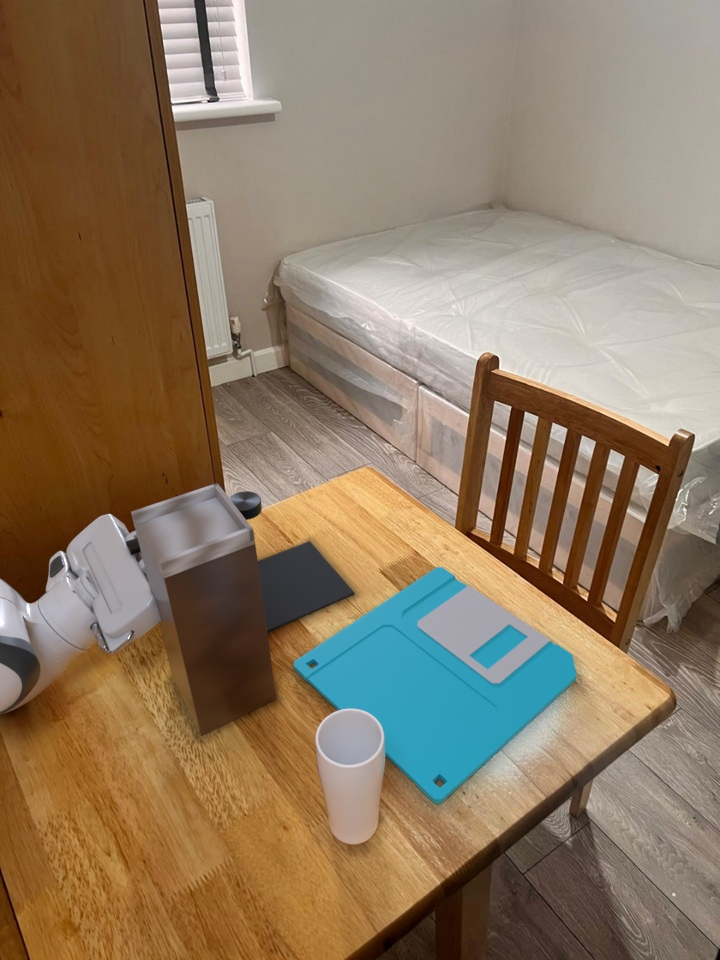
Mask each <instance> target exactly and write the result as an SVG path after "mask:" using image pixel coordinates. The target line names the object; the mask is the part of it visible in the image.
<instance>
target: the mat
mask: <svg viewBox="0 0 720 960" xmlns="http://www.w3.org/2000/svg"><path fill="white" fill-rule="evenodd" d="M258 567H259V575H260V582H261V590H262V597H263V605H264V612H265V619H266V627H267V633H269V632H272V631H274V630H277V629H279V628H282V627H284V626H286V625H288V624H290V623H293V622H295V621H297V620H299V619H302V618H305V617H306V616H308V615H311V614H313V613H315V612H317V611H320V610H322V609H325V608H327V607H329V606H331V605H334V604H336V603H338V602H341V601H343V600H345V599H348V598H349V597H352V596H354V595H355V591H354V590H353V589H352V588H351V587H350V585H348V584H347V582H346V581H345V579H343V577H341V575H340V574H339V572H337V570H336V569H335V568H334V567H333V566H332V565H331V564H330V563H329V561H328V560H327V559H326V558H325V556H323V555H322V553H321V552H320V551H319V550H318V549H317V547H315V545H314V544H313V543H312V541H311V540H309V541H306V542H304V543H301V544H299V545H296V546H293V547H291V548H287V549H286V550H283V551H281V552H278V553H275V554H273V555H270V556H267V557H265V558H262V559H260V560H258Z"/></svg>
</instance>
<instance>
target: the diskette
mask: <svg viewBox="0 0 720 960" xmlns="http://www.w3.org/2000/svg"><path fill="white" fill-rule="evenodd" d="M312 664H314V665H315V666H314V667H310V666H311V665H312ZM293 670H294V671H295V673H296V674H298V675H299V677H301V679H303V680H304V681H305V682H307V683H308V684H309V685H311V687H313V688H314V689H315V690H316V691H317V692H318V693H319V694H320V695H321V696H322V697H323V698H324V699H325V700H326V701H327V702H328V703H329V704H331V706H333V708H335V709H336V711H339V710H342V709H359V710H363V711H366V712H368V713H369V714H371V715H373V716H374V717H375V718H376V719H377V720H378V721H379V723H380V724H381V726H382V728H383V731H384V739H385V758H386V757H387V759H388V760H389V761H390V762H392V764H394V766H396V767H397V768H398V769H399V770H400V771H401V772H402V773H403V774H404V775H405V776H406V777H407V778H408V779H409V780H410V781H412V782H413V783H414V785H416V787H417V788H418V790H420V792H422V793H423V794H424V795H425V796H426V797H427V798H428V799H429V800H430V801H431V802H432V803H433V804H435V805H441V804H443V803H444V802H445V801H446V800H447V799H448V798H449V797H450V796H451V795H452V794H454V792H456V791H457V790H458V789H459V788H460V787H461V786H462V785H464V784H465V782H467V781H468V780H469V779H470V778H471V777H473V775H474V774H476V773H477V771H479V770H480V769H481V768H482V767H483V766H484V765H485V764H486V763H487V762H488V761H490V760H491V759H492V758H493V757H494V756H496V754H497V753H498V752H500V750H502V749H503V748H504V747H505V746H506V745H507V744H508V743H509V742H511V740H513V738H515V737H516V736H517V735H518V734H519V733H520V732H521V731H522V730H524V728H526V727H527V726H528V725H529V724H530V723H531V722H532V721H533V720H534V719H535V718H537V717H538V716H539V715H540V714H541V713H542V712H543V711H544V710H545V709H547V708H548V707H549V706H550V705H551V704H552V703H553V702H554V701H555V700H556V699H557V698H558V697H560V696H561V695H562V694H563V693H564V692H565V691H566V690H567V689H568V688H569V687H571V685H573V684H574V683H575V682H576V681H577V676H578V675H577V672H576V665H575V660H574V655H573V653H571V652H569V651H568V650H566V649H565V648H563V647H562V646H560V645H559V644H557V643H556V644H555V643H554V642H553V641H552V639H550V638H549V637H547V636H545V635H544V634H542V633H541V632H539V631H538V630H537V629H535V628H533V627H532V626H530V625H529V624H528V623H526V622H525V621H523V620H522V619H521V618H519V617H517V616H515V615H514V614H513V613H511V612H510V611H508V610H506V609H505V608H504V607H502V606H501V605H499V604H498V603H496V602H495V601H493V600H492V599H490V598H489V597H487V596H486V595H484V594H483V593H481V592H480V591H479V590H477V589H475V588H474V587H473V586H471V585H467V584H466V583H464V582H461V581H460V580H458V579H457V578H456V576H455V574H453V573H451V572H450V571H448V570H447V569H446V568H444V567H442V566H437V567H435V568H433V569H432V570H430V571H429V572H428V573H426V574H425V575H423V576H421V577H420V578H418V579H417V580H415V581H414V582H412V583H410V585H408V586H406V587H404V588H403V589H402V590H400V591H399V592H397V593H396V594H394V595H393V596H391V597H389V598H388V599H387V600H385V601H383V602H382V603H380V604H379V605H377V606H376V607H375V608H373V609H372V610H370V611H368V612H367V613H365V614H364V615H362V616H361V617H359V618H358V619H356V620H355V621H353V622H352V623H350V624H349V625H347V626H346V627H344V628H342V629H341V630H340V631H338V632H336V633H335V634H334V635H332V636H330V637H329V638H328V639H326V640H324V641H323V642H321V643H320V644H318V645H317V646H315V647H314V648H313V649H311V650H309V651H308V652H306V653H305V654H303V655H301V656H300V657H299V658H297V659H296V660H294V661H293ZM438 780H440V781H442V782H443V783H444V784H443V785H442V786H440V787H439V786H438V785H437V784H436V782H437V781H438Z"/></svg>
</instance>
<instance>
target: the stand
mask: <svg viewBox="0 0 720 960" xmlns="http://www.w3.org/2000/svg"><path fill="white" fill-rule="evenodd" d="M229 498H230V496H228V495H227V493H226V492H225V491H224V490H223V488H222V487H221V486H220V484H219V483H218V482H216V483H212V484H210V485H207V486H204V487H201V488H198V489H195V490H192V491H188V492H186V493H183V494H180V495H177V496H174V497H170V498H168V499H165V500H162V501H159V502H156V503H153V504H150V505H147V506H144V507H141V508H138V509H135V510H132V511H130V514H131V518H132V522H133V526H134V531H136V534H137V538H138V542H139V546H140V550H141V552H140V553H141V555H142V558H143V562H144V566H145V570H146V574H147V578H148V582H149V585H150V589H151V592H152V594H153V596H154V598H155V601H156V604H157V607H158V611H159V615H160V619H161V622H160V623H158V626H159V628H160V632H161V633H160V634H161V637H162V640H163V641H162V642H163V645H164V649H165V653H166V656H167V661H168V664H169V669H170V672H171V676H172V680H173V682H174V684H175V686H176V688H177V691H178V692H179V695H180V697H181V698H182V700H183V703H184V704H185V707H186V709H187V710H188V712H189V714H190V716H191V718H192V721H193V722H194V724H195V727H196V729H197V730H198V732H199V735H200V736H201V737H202V736H205V735H207V734H209V733H211V732H212V731H215V730H216V729H217V730H218V729H219V728H222V727H223V726H225V725H227V724H230V723H231V722H234V721H236V720H238V719H240V718H242V717H244V716H246V715H249V714H251V713H252V712H254V711H256V710H258V709H260V708H262V707H265V706H267V705H269V704H271V703H273V702H275V701H277V696H276V695H277V694H276V687H275V680H274V672H273V665H272V657H271V651H270V643H269V635H268V632H267V627H266V619H265V612H264V605H263V597H262V590H261V582H260V575H259V567H258V561H259V560H258V553H257V546H256V545H257V544H256V540H255V539H256V537H255V531H254V528H253V527H252V525H251V524H250V522H249V521H248V520H246V519H245V518H244V517H243V515H242V514H241V513H240V511H239V510H238V509H237V508H236V506H235V505H234V504H233V503H232V501H231V500H230V499H229Z"/></svg>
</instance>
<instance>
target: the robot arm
mask: <svg viewBox="0 0 720 960" xmlns="http://www.w3.org/2000/svg"><path fill="white" fill-rule="evenodd" d="M135 538H137V534H136V530H133V531H131V532H130V531H129V530H128V528H127V526H126V524H125V523H123V522H122V521H121V520H120V519H118V518H117V517H116V516H114V515H113V514H111V513H106V514H102V515H100V516H98V517H97V518H95V519H94V520H93V521H92V522H91V523H89V524H88V525H87V526H86V527H85V528H84V529H83V530H81V531H80V532H79V533H78V534H77V535H76V536H75V537H74V538H73V539H72V540H71V541H70V542H69V544H68V545H67V548H66V552H65V551H62V550H59V551H57V552H56V553H55V554H53V556H51V557H50V559H49V563H48V577H47V583H46V586H45V593H44V594H43V595H42V596H41V597H40V598H39V599H37V600H36V601H35V602H33V603H31V602H30V603H29V602H27V601H26V599H24V597H23V596H22V595H21V594H20V593H19V592H18V591H17V590H16V589H15V588H14V587H13V586H11V585H10V584H9V583H8V582H7V581H5V580H4V579H3V578H1V577H0V715H3V714H6V713H10V712H12V711H14V710H17V709H19V708H20V707H23V706H24V705H26V704H28V703H29V702H30V701H33V700H34V699H35V698H36V697H38V695H40V694H41V693H43V692H44V691H45V690H46V689H47V688H48V687H49V686H51V685H52V684H53V683H54V682H55V681H57V679H59V677H61V676H62V675H63V674H64V673H65V672H66V671H67V668H68V667H69V666H70V664H71V663H72V661H74V660H75V659H76V658H78V657H79V656H81V655H82V654H85V653H86V652H89V650H90V649H91V648H92V647H93V646H94V645H96V644H97V643H98V648H99V650H100V651H101V653H103V654H105V653H106V654H108V655H112V654H117V653H119V652H121V651H122V650H123V649H124V648H125V647H126V646H127V645H129V644H132V643H133V642H135V641H137V640H138V639H140V638H142V637H143V636H144V635H146V634H147V633H148V632H149V631H151V630H152V629H154V628H155V627H156V626H158V625H159V623H160V622H161V619H160V615H159V611H158V607H157V604H156V601H155V598H154V596H153V594H152V592H151V589H150V585H149V582H148V578H147V574H146V570H145V566H144V562H143V558H142V554H141V552H139V553H136V554H133V555H131V554H130V552H129V550H128V548H127V546H126V541H129V540H132V539H135Z"/></svg>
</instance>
